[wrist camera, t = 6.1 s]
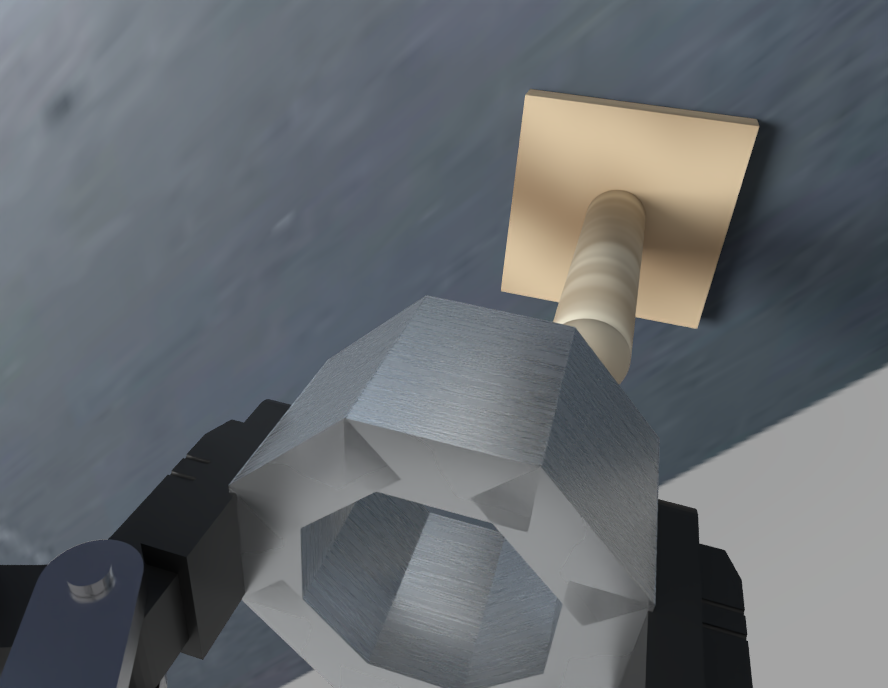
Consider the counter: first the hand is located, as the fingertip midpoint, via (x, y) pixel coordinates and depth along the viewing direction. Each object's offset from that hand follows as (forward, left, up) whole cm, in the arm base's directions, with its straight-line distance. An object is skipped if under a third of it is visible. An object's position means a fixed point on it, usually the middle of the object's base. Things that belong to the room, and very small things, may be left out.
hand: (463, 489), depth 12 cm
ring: (0, 0, -1) cm, 1 cm away
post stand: (+1, +2, -18) cm, 18 cm away
